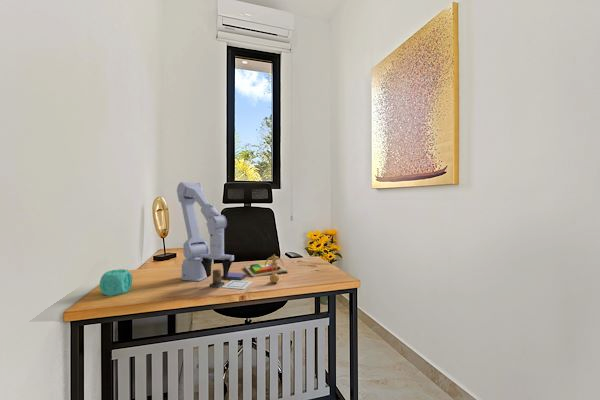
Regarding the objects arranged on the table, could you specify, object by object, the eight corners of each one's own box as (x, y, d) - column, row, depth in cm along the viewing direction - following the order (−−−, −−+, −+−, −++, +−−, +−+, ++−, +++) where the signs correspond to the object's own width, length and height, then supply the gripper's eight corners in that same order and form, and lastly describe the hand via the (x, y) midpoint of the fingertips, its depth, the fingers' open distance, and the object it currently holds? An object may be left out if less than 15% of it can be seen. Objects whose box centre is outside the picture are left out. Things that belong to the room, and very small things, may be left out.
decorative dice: (112, 289, 113) (111, 269, 113) (132, 288, 113) (132, 269, 113) (99, 296, 105) (99, 275, 105) (121, 295, 105) (121, 274, 105)
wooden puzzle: (243, 269, 146) (243, 262, 146) (277, 265, 153) (277, 259, 153) (250, 278, 130) (250, 270, 130) (288, 274, 137) (288, 266, 137)
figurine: (264, 284, 119) (265, 256, 119) (264, 280, 125) (264, 253, 125) (284, 283, 121) (284, 256, 120) (283, 279, 127) (283, 253, 126)
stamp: (209, 287, 116) (209, 271, 116) (214, 283, 120) (214, 268, 120) (219, 287, 115) (219, 272, 115) (224, 284, 119) (224, 269, 119)
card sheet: (221, 287, 115) (221, 287, 115) (232, 280, 125) (232, 279, 125) (244, 289, 113) (244, 288, 113) (253, 281, 123) (253, 281, 123)
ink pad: (220, 279, 127) (220, 276, 127) (227, 274, 133) (227, 272, 133) (240, 280, 125) (240, 277, 125) (247, 276, 131) (247, 273, 131)
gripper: (195, 245, 115) (196, 278, 115) (228, 246, 112) (228, 280, 112) (205, 242, 122) (205, 273, 122) (236, 243, 119) (236, 275, 119)
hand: (217, 276), depth 118 cm, fingers open, 7 cm apart
